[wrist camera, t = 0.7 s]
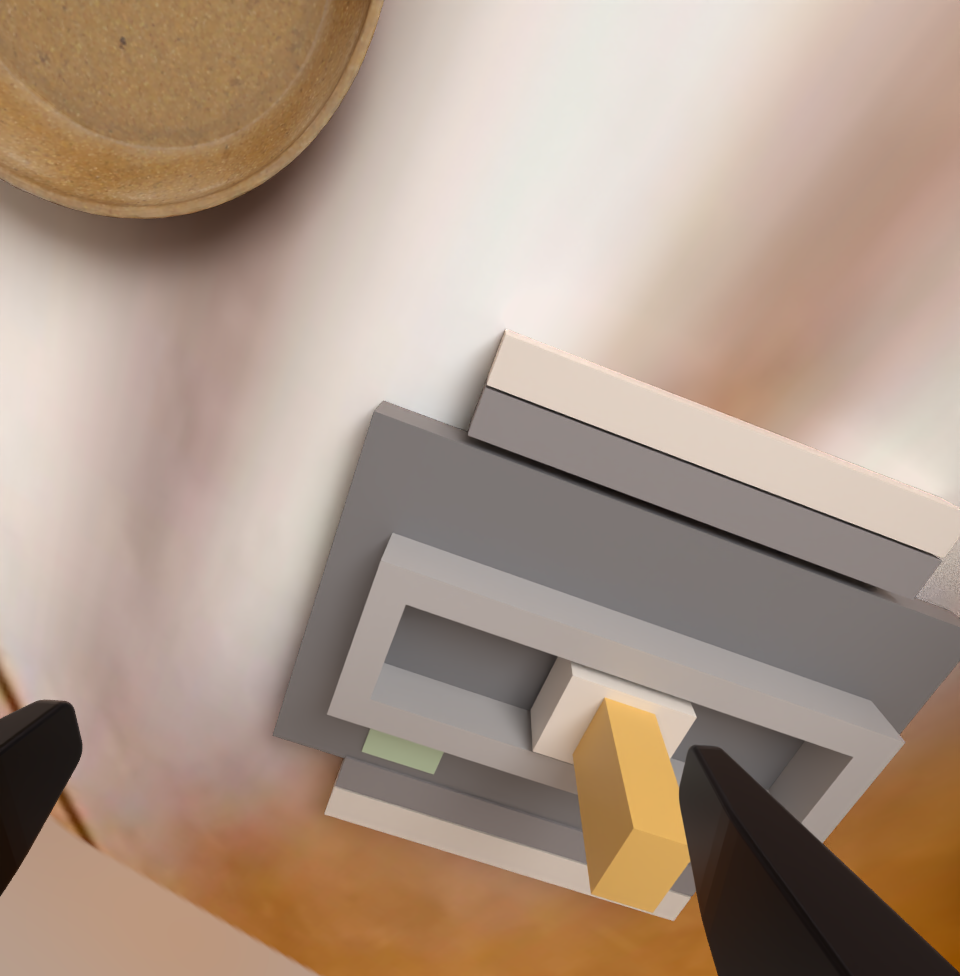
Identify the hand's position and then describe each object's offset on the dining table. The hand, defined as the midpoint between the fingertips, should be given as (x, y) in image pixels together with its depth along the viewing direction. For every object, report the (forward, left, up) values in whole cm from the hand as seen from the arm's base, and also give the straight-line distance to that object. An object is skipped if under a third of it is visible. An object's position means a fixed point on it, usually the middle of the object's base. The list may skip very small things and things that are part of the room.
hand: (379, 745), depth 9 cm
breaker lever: (-8, +6, -11) cm, 15 cm away
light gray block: (-8, +14, -13) cm, 21 cm away
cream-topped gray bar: (-8, -3, -13) cm, 16 cm away
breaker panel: (-8, +6, -13) cm, 16 cm away
